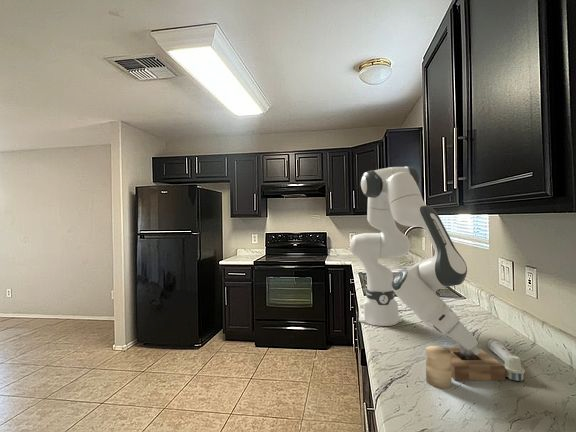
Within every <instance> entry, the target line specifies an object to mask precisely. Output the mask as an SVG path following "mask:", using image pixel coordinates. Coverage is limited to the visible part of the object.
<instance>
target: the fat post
mask: <svg viewBox="0 0 576 432" xmlns="http://www.w3.org/2000/svg"><path fill="white" fill-rule="evenodd" d="M445 347H446V346H442V345H441V346H440V345H429V346H426V347H425V381H426V384H428V385H429V386H431V387H435V388H438V389H449V388H451V387H452V379H453V378H452V377H451V351H450V350H449V349H447V348H445Z"/></svg>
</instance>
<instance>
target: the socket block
mask: <svg viewBox="0 0 576 432" xmlns="http://www.w3.org/2000/svg"><path fill="white" fill-rule="evenodd" d="M444 347H445V348H447V349H449V350H450V351H451V379H453V380H454V381H506V377H505V366H504V365H505V364H503V363H501V362H500V361H498V360H497V359H496V358H494V357H493V356H492V355H490V354H489V353H487V352H486V351H484V350H483V349H482V348H480V347H479V346H476V347H477V348H478V349H479V350H480V353H479V354H478V355H475V354H474V353H473V355H474V360H461V359H460V346H444Z"/></svg>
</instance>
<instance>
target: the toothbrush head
mask: <svg viewBox="0 0 576 432" xmlns="http://www.w3.org/2000/svg"><path fill="white" fill-rule="evenodd" d="M486 343H487V344H486V345H487V347H488V350H490V352H492V353H494V354H495V355H496V356H498V358H499V359H501V360H502V361H503V362H504V364H503V365H504V366H505V378H508V379H509V380H511V381H512V380H513V381H519V382H521V381H523V380H524V379H525V377H524V374H525V372H526V370H525V368H524V367H522V361H521V359H520V357H519V356H516V355H514V354H511V352H510V350H508V349H507V348H506V347H505V346H504V343H502V342H501V340H499V339H496V338H489V339H488V340H487V342H486Z"/></svg>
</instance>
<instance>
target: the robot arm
mask: <svg viewBox="0 0 576 432" xmlns="http://www.w3.org/2000/svg"><path fill="white" fill-rule="evenodd" d="M420 179H421V178H420V173H419V171H418V170H417V168H416V167H413V166H408V165H405V166H391V167H386V168H385V167H384V168H379V169H375V170H374V169H370V170H368V171H365V172H363V174H362V176H361V179H360V187H361V191H362V193H363V195H364V196H365V197H367V210H366V211H367V212H366V213H367V214H366V219H367V222H368V224H369V226H371V227H373V228H374V229H377V230H379V231H380V232H364V233H358V234H354V235H353V236H352V238H351V239H350V242H349V249H350V251H351V254H352V255H353V256H355V258H357V259H358V260H359V261H360V262H361V263H362V265H363V266H364V267H363V268H364V269H365V274H366V285H367V288H366V291H365V299H364V301H363V303H360V304H359V309H360V310H358V321H359V322H360V323H365V324H368V325H373V326H378V327H379V326H380V327H389V326H390V327H391V326H394V325H397V324H398V323H401V322H403V318H401V317H400V316H399V303H398V302H397V301H396V300H395V295H396V296H397V297H398V299H399V300H400V301H401V302H402V303H403V304H404V305H405V306H406V308H408V309H410V310H411V311H413V312H414V313H415V314H416V316H417V318H419V320H420V321H421V322H423V324H425V326H427V328H429V329H430V330H434V331H437V332H439V333H441V334H443V335H445V336H448V337H449V338H451V339H452V340H453V341H454V342H456V343H457V344H458V345H459V346H460V345H461V346H462V347H464V348H465V349H466V350H468V351H472V352H473V353H474V354H475V355H478V354H479V353H480V350H479V349H478V348H477V347H478V344H479V343H478V340H477V339H476V337H475V336H474V335H473V334H472V333H471V331H470V330H469V329H468V328H467V327H466V326H465V325H464V324H463V323H462V322H461V318H460V316H458V315H457V313H455V312H454V311H453V309H452V308H451V307H450V306H449V305H448V304H447V303H446V302H445V301H444V300H443V299H442V298H441V297H440V296H439V295H438V294H437V293H436V292H437V291H438V290H440V289H444V288H447V287H453V286H460V285H461V284H463V283H464V281H465V279H466V277H467V275H468V274H467V273H468V267H467V264H466V261H465V259H464V258H463V257H462V255H461V254H460V252H459V251H458V250H457V248H456V246H455V245H454V242H453V241H452V238H450V235H449V233H448V231H447V229H446V227H445V225H444V223H443V222H442V220H441V218H440V216H439V213H437V211H436V210H435V209H434V208H433V207H431V206H429V205H427V204H426V203H425V202H424V199H423V196H422V193H421V190H420V184H421V181H420ZM396 223H397V224H399V225H400V226H401V225H402V226H405V227H412V228H413V227H420V228H422V229H423V230H424V231H425V233H426V235H427V237H428V240H429V241H430V243H431V245H432V248H433V250H434V255H433V256H432V257H429V258H426V259H423V260H420V261H418V262H416V263H414V264H413V265H411V266H410V267H408V268H404V269H400V270H399V271H398V272H397V273H395V275H394V273H393V271H392V269H390V267H389V268H388V267H387V266H385V265H383V264H381V263H380V262H379V259H396V258H397V259H398V258H402V257H406V256H407V255H408V254H409V253H410V249H411V241H410V239H409V238H408V236H407V235H406V234H404V233H403V232H402V231H400V229H399V228H398V227H397V224H396Z"/></svg>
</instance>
